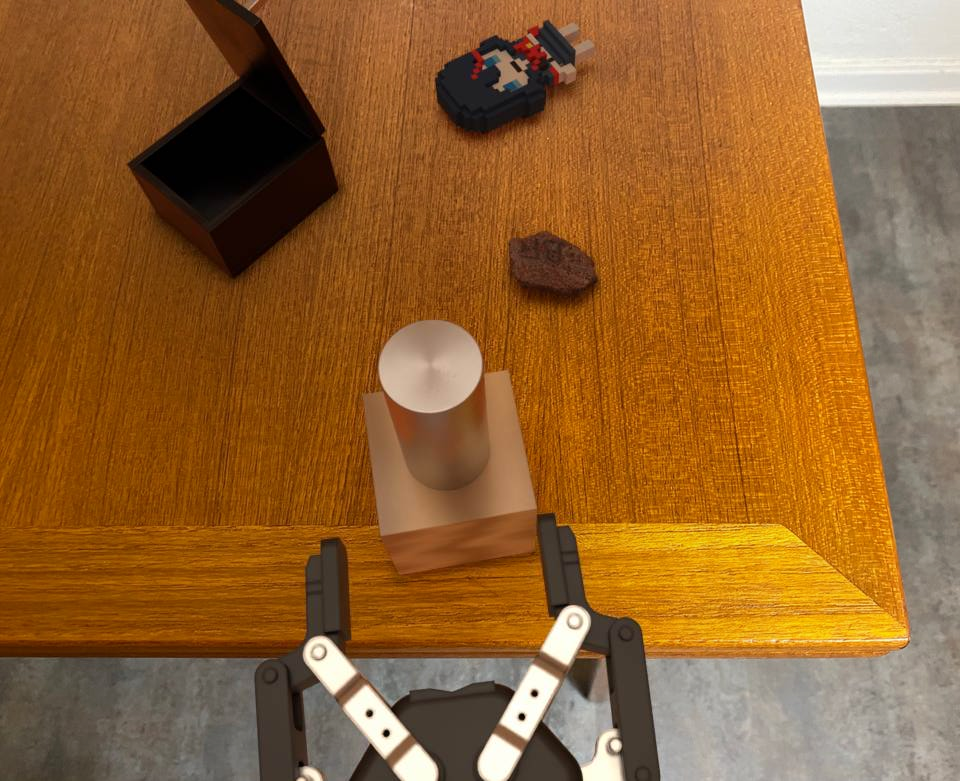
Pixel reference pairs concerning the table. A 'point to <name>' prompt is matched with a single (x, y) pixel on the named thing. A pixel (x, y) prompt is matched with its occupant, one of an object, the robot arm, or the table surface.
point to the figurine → (509, 77)
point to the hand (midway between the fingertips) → (438, 530)
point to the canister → (437, 401)
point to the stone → (551, 265)
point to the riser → (454, 493)
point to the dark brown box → (236, 176)
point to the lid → (255, 55)
